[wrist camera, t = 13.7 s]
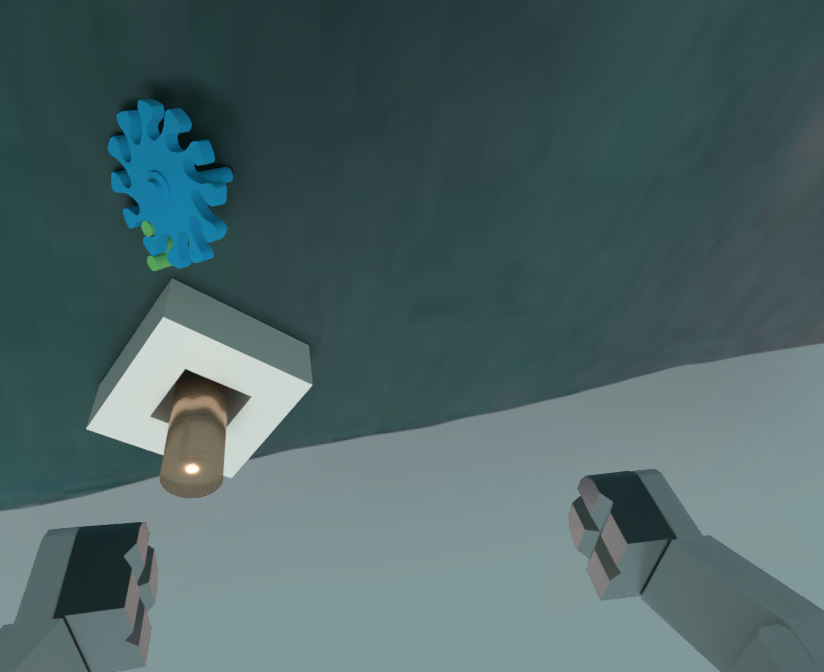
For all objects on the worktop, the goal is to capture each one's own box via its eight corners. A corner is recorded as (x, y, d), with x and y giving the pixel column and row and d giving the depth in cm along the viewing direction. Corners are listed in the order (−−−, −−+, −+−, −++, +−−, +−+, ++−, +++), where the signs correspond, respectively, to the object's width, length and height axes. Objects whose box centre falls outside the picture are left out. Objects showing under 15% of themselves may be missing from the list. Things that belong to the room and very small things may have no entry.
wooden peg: (169, 371, 50) (148, 487, 41) (194, 338, 49) (178, 450, 40) (214, 390, 52) (204, 504, 43) (239, 358, 51) (234, 469, 42)
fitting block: (99, 384, 50) (85, 429, 46) (171, 277, 45) (163, 316, 42) (233, 435, 56) (231, 478, 52) (308, 345, 51) (312, 384, 48)
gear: (107, 65, 35) (225, 166, 33) (192, 63, 39) (301, 151, 37) (91, 222, 42) (187, 314, 39) (165, 205, 46) (256, 287, 44)
